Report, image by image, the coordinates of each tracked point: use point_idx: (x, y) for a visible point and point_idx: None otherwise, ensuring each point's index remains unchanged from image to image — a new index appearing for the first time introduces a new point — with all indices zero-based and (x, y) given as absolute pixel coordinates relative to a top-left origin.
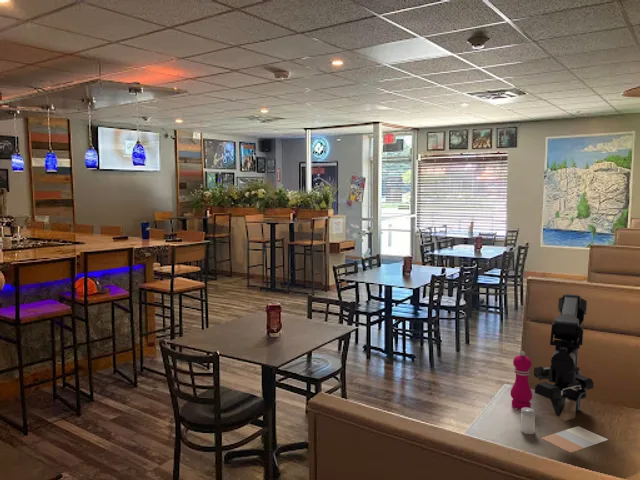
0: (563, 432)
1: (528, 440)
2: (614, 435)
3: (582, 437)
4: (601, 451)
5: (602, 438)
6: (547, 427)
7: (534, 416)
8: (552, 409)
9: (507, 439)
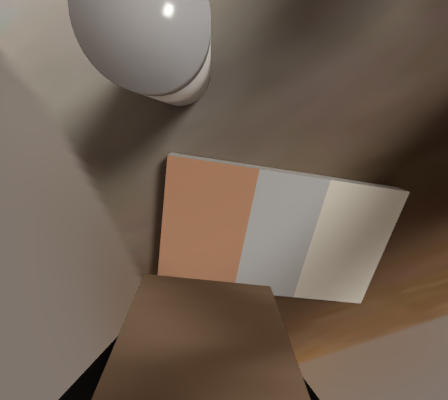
0: (300, 187)
1: (133, 108)
2: (430, 278)
3: (311, 251)
4: (280, 304)
5: (354, 291)
6: (333, 89)
7: (168, 96)
8: (128, 320)
9: (42, 29)
